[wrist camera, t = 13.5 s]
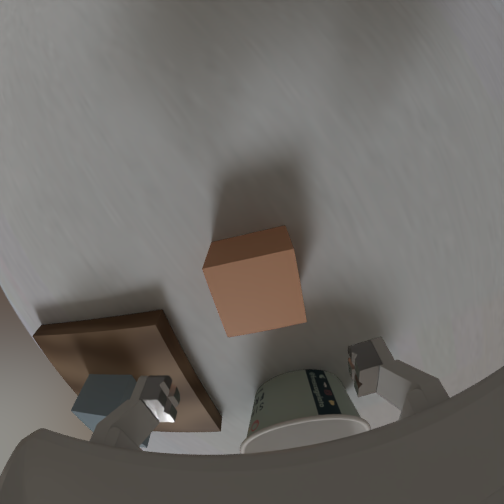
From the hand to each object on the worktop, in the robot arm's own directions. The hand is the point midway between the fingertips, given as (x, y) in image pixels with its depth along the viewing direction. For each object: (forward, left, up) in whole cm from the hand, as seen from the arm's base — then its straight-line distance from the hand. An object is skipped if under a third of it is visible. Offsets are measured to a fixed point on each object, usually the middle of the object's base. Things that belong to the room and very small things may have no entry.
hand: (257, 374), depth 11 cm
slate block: (+9, -16, -7) cm, 19 cm away
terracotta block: (-1, 0, -9) cm, 9 cm away
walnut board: (+9, -16, -9) cm, 20 cm away
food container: (+15, +1, -9) cm, 18 cm away
